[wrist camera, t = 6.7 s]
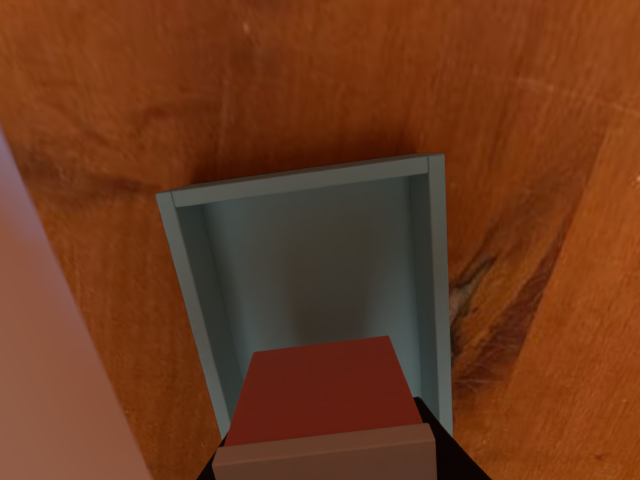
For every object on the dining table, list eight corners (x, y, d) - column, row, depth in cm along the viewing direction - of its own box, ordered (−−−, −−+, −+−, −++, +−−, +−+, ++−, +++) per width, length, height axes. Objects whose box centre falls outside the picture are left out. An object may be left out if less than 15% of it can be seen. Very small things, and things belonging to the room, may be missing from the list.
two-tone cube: (274, 459, 13) (253, 611, 9) (249, 349, 12) (210, 465, 7) (400, 444, 13) (442, 591, 9) (391, 331, 12) (436, 440, 7)
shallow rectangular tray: (259, 478, 19) (248, 540, 16) (188, 184, 14) (153, 193, 11) (433, 458, 19) (455, 517, 16) (417, 153, 14) (445, 153, 11)
